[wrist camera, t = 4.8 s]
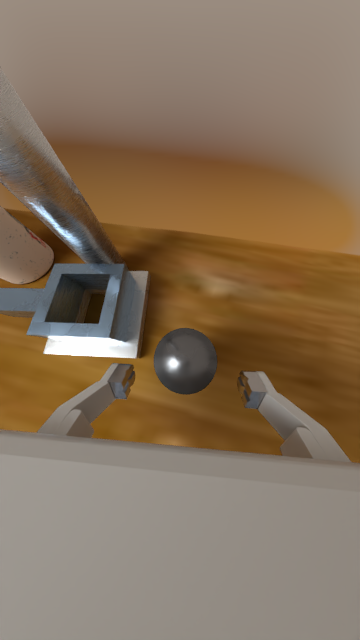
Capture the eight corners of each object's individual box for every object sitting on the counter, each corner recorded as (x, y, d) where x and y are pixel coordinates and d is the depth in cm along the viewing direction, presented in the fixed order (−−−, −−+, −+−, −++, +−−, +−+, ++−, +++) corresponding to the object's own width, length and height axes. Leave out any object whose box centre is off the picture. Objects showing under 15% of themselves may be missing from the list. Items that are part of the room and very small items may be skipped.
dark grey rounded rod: (171, 372, 16) (150, 391, 6) (173, 344, 17) (157, 327, 7) (199, 373, 16) (218, 396, 6) (199, 346, 17) (216, 329, 7)
